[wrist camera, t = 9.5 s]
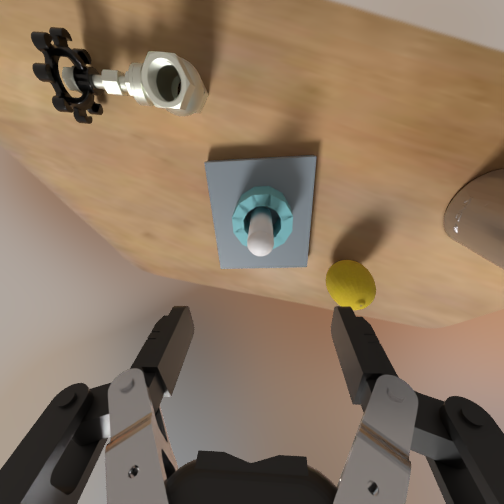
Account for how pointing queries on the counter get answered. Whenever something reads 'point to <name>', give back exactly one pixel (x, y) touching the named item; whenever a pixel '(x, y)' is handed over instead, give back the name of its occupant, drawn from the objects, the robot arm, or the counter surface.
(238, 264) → the post stand
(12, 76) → the counter surface
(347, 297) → the lemon
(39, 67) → the valve
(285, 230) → the collar
